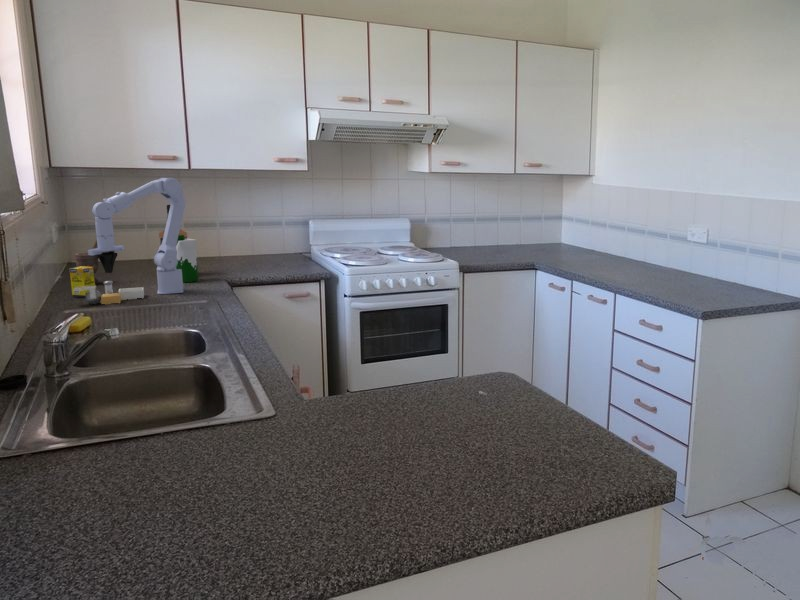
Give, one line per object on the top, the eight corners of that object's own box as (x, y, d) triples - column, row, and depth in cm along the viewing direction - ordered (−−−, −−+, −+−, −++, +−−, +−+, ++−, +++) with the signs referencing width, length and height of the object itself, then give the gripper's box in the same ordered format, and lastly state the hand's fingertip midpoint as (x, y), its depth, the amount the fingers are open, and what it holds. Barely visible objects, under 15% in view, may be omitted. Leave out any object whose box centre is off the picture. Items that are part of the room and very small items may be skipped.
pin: (114, 297, 229) (113, 280, 228) (114, 299, 226) (112, 281, 225) (105, 298, 228) (103, 281, 227) (104, 300, 225) (102, 282, 224)
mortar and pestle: (109, 281, 264) (104, 235, 259) (108, 284, 256) (103, 237, 252) (79, 283, 259) (73, 236, 255) (77, 286, 251) (72, 238, 247)
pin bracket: (116, 297, 230) (116, 293, 230) (116, 299, 226) (115, 295, 225) (103, 298, 228) (103, 294, 228) (102, 300, 224) (102, 296, 224)
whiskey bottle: (193, 276, 276) (187, 204, 270) (173, 279, 269) (167, 205, 262) (179, 273, 282) (173, 203, 276) (160, 276, 275) (153, 204, 268)
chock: (121, 301, 224) (120, 293, 224) (120, 304, 220) (119, 295, 219) (103, 302, 222) (102, 294, 222) (101, 305, 218) (100, 297, 217)
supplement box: (85, 297, 230) (82, 268, 228) (72, 297, 231) (68, 268, 229) (96, 294, 236) (93, 266, 233) (83, 293, 237) (79, 266, 235)
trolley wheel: (102, 301, 222) (101, 285, 221) (101, 304, 217) (99, 287, 216) (77, 303, 219) (75, 286, 218) (75, 306, 214) (73, 289, 213)
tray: (144, 294, 234) (143, 287, 234) (143, 298, 228) (143, 290, 227) (119, 296, 231) (119, 288, 231) (118, 300, 225) (118, 292, 224)
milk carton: (172, 281, 263) (168, 234, 259) (192, 278, 269) (188, 233, 265) (182, 283, 257) (178, 236, 253) (202, 281, 263) (198, 234, 259)
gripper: (97, 238, 214) (101, 276, 217) (129, 234, 227) (132, 270, 230) (82, 237, 216) (86, 275, 219) (114, 233, 229) (118, 269, 232)
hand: (108, 272), depth 225 cm, fingers closed
